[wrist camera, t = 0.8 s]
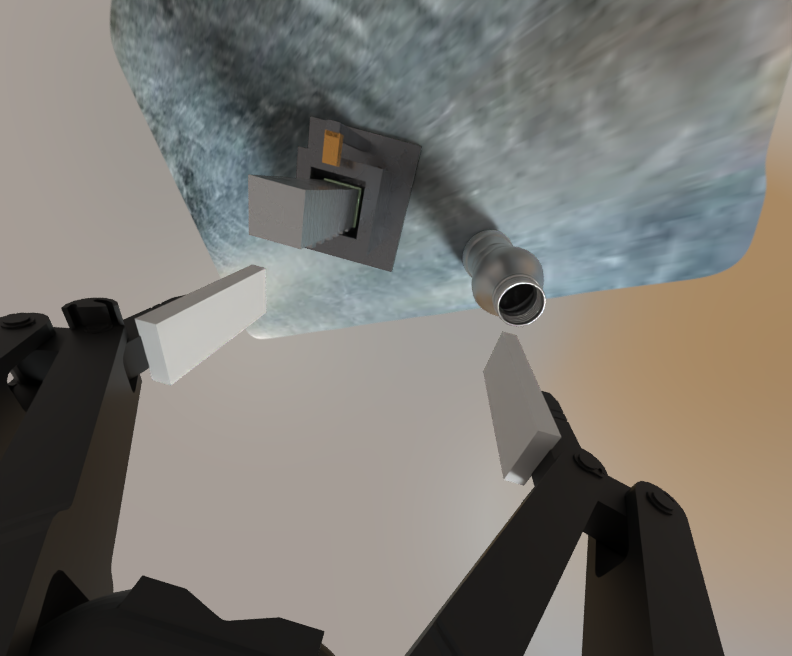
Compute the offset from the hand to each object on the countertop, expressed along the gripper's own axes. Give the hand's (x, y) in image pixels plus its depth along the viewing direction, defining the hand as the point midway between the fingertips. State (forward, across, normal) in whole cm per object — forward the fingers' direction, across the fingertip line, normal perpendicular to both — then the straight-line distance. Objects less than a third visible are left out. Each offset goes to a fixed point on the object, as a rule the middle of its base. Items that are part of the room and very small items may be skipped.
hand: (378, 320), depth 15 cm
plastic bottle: (+28, +10, 0) cm, 29 cm away
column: (+26, -9, +2) cm, 28 cm away
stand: (+28, -9, +2) cm, 29 cm away
